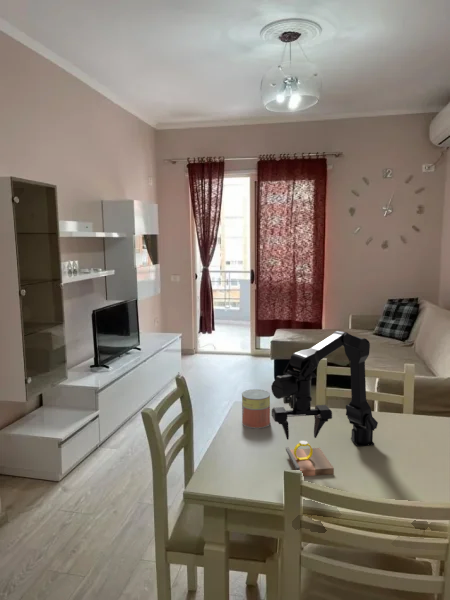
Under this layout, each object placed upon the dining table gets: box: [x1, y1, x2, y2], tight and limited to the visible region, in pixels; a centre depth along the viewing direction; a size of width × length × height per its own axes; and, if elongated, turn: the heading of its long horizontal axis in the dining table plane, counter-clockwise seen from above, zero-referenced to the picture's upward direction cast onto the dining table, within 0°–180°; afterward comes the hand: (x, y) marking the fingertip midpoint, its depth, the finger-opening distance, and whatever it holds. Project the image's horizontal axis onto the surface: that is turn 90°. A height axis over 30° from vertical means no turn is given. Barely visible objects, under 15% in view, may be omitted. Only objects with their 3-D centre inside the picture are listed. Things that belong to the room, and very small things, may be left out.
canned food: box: [241, 388, 271, 429], centre depth 184 cm, size 11×11×12 cm
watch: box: [293, 440, 313, 460], centre depth 150 cm, size 6×3×6 cm, turn 99°
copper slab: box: [285, 446, 335, 477], centre depth 151 cm, size 12×14×3 cm
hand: (301, 438), depth 149 cm, fingers open, 9 cm apart
